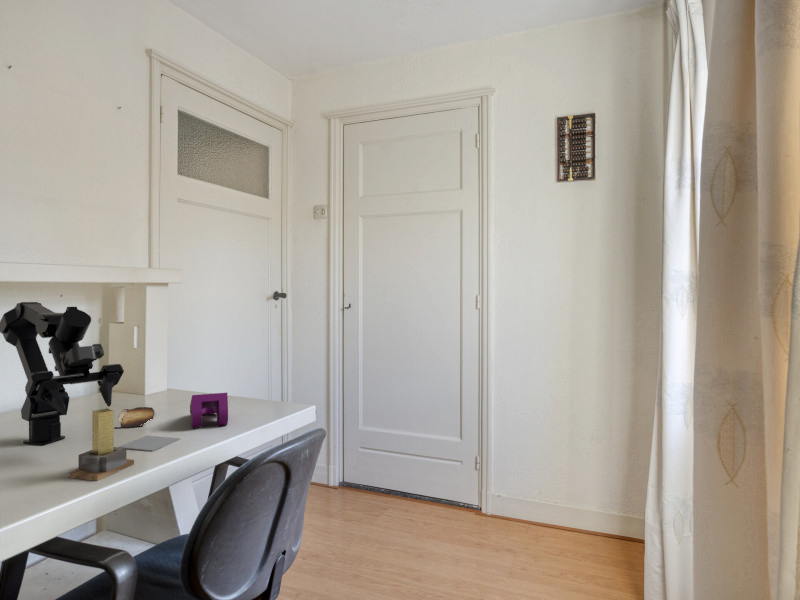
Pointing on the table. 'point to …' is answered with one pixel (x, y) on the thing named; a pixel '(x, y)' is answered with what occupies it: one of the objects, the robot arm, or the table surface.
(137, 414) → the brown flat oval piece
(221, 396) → the mounting bracket
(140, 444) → the felt pad
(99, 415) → the yellow rectangular block
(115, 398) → the table surface
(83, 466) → the grey block holder
